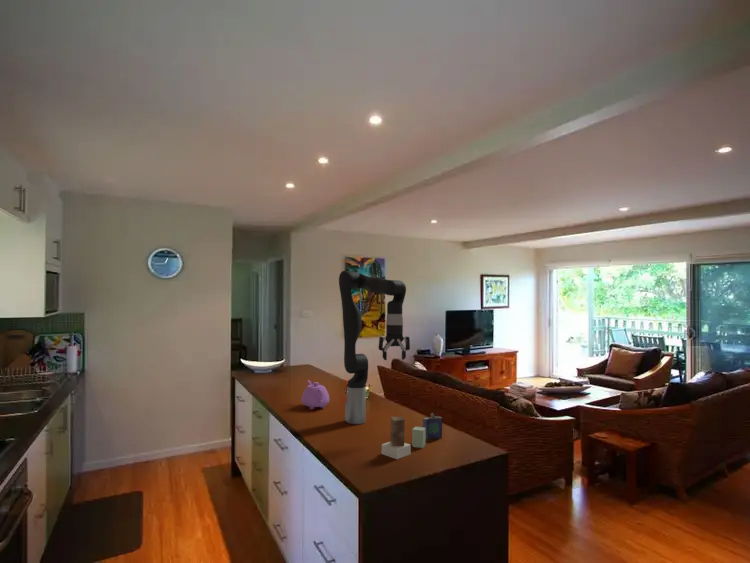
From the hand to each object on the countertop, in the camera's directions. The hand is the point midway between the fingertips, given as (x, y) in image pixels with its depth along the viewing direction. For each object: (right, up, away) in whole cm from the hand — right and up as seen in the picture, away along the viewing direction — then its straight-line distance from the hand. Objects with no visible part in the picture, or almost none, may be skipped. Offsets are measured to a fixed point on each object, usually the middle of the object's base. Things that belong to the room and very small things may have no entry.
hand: (394, 359), depth 191 cm
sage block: (+9, -32, -17) cm, 38 cm away
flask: (+16, -33, -7) cm, 38 cm away
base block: (0, -32, -27) cm, 42 cm away
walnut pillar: (0, -28, -27) cm, 39 cm away
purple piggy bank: (-43, -35, +46) cm, 72 cm away
